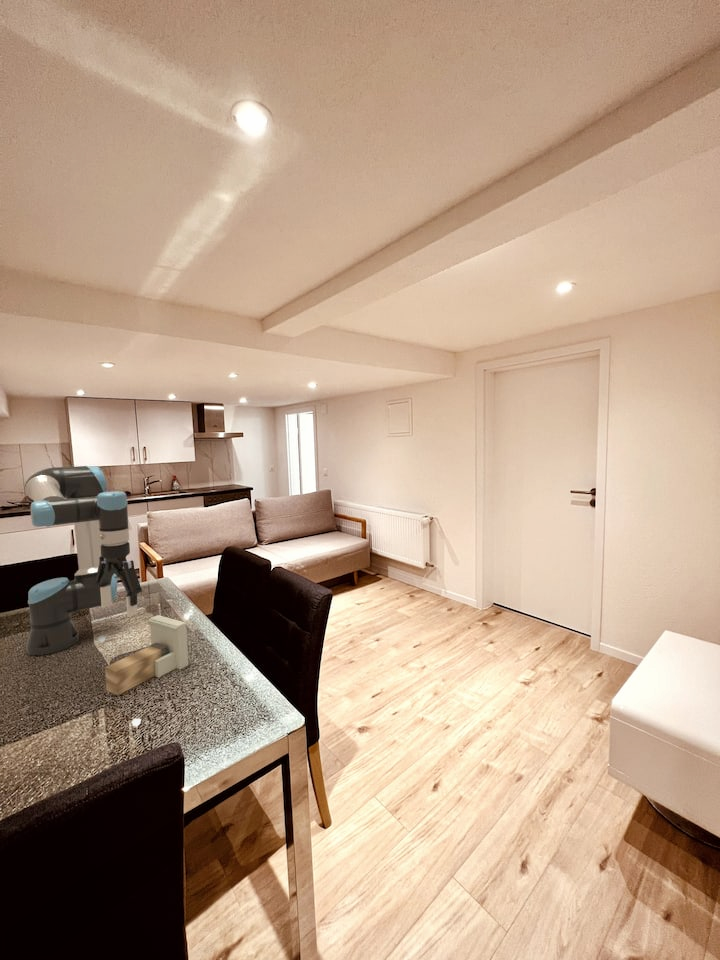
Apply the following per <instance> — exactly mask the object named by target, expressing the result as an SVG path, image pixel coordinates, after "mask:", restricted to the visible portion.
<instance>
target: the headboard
mask: <svg viewBox="0 0 720 960" xmlns="http://www.w3.org/2000/svg"><path fill="white" fill-rule="evenodd" d="M147 625H149V629H150V643H151V644H150V645H152V644H154V643H159V644H162V645H165V646H168V654H167V655H165V656H163V657H161V658H159V659H157V660H155V677H156V678H160V677H162V676H165V675H166V674H168V673H170V672H172V671H173V670H174V671H175V669H177V670H183V669H185V668H186V667H188V666H189V653H188V652H189V651H188V633H187V623H186V622H185V621H182V620H181V621H180V620H179V619H173V618H170V617H168V616H163V615H160V614H157V615H155V616H152V617H150V618H149V619H148V620H147Z"/></svg>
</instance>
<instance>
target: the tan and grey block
mask: <svg viewBox="0 0 720 960" xmlns="http://www.w3.org/2000/svg"><path fill="white" fill-rule="evenodd" d="M167 654H168V646H165V645H162V644H159V643H154V644H152V645H151V644H150V646H147V647H146V648H143V649H141V650H139V651H136V652H135V653H132V654H131V655H128V656H126V657H124V658H122V659H119V660H117V661H116V662H115V661H114V662H112V663H110V664H109V665H107V666H105V667H104V671H105V672H104V674H105V686H106V687H105V688H106V692H108V693H111V694H113V695H116V696H117V697H118V696H120V695H122V694H123V693H125V692H128V691H130V690H131V689H133V688H135V687H137V686H138V685H140V684H142V683H144V682H146V681H148V680H150V679H151V678H154V677H156V675H155V660H157V659H159V658H161V657H163V656H165V655H167Z"/></svg>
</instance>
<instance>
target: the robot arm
mask: <svg viewBox="0 0 720 960" xmlns="http://www.w3.org/2000/svg"><path fill="white" fill-rule="evenodd" d="M24 484H25V485H24V490H25V494H26V495H27V496H28V497H27V498H30V499H31V500H33V502H31V504H30V518H31V524H32V526H34V527H37V528H38V527H40V528H42V527H51V526H60V525H69V524H73V525H74V535H75V544H76V545H75V546H76V553H77V554H76V555H77V564H78V570H76V572H75V573H74V579H73V580H69V579H68V577H63V576H62V577H56V578H52V579H47V580H45V581H44V580H43V581H42V582H40V583H37V584H35V585H34V586H32V587H31V588H30V589H29V591H28V592H27V594H28V595H27V596H28V597H27V598H28V600H27V604H28V607H29V608H28V609H29V619H30V620H29V621H30V622H29V623H30V631H29V634H28V637H27V641H26V643H25V644H26V645H25V653H26V654H27V655H29V656H34V655H37V656H45V655H46V656H47V655H51V654H55V653H58V652H61V651H64V650H66V649H68V648H71V647H73V646H74V645H75V644H77V643H78V641H79V640H80V637H79V636H80V635H79V632H78V629H77V628H76V626H75V624H74V622H73V621H72V614H73V613H76V612H80V611H86V610H88V609H89V610H90V609H93V608H97V607H101V609H105V608H107V607H111V606H112V604H113V602H114V601H115V599H116V597H117V594H118V593H117V592H118V579H117V577H118V578H119V579H120V581H121V584H122V585H123V587H124V589H125V591H126V595H125V600H126V602H125V603H126V614H127V615H126V616H127V617H128V618H130V617H133V616H136V615H138V614H139V613H138V610H139V609H138V594H140V593H142V592H143V589H142V587H141V583H140V581H139V578H138V575H137V572H136V569H135V564H134V563H135V562H134V560H132V559H131V560H127V556H128V555H130V553H131V550H130V549H131V548H130V542H129V541H130V531H129V530H130V529H129V515H128V503H129V502H128V498H127V493H126V492H124V491H116V490H115V491H108V484H107V479H106V476H105V474H104V471H103V470H102V468H100V467H98V466H96V465H94V466H93V465H81V466H80V465H79V466H64V467H63V466H61V467H57V466H55V467H48V468H45V469H41V470H39V471H37V472H35V473H33V474H32V475H30V476H29V477H28V478H27V480H26V481H25V483H24ZM44 654H45V655H44Z"/></svg>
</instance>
